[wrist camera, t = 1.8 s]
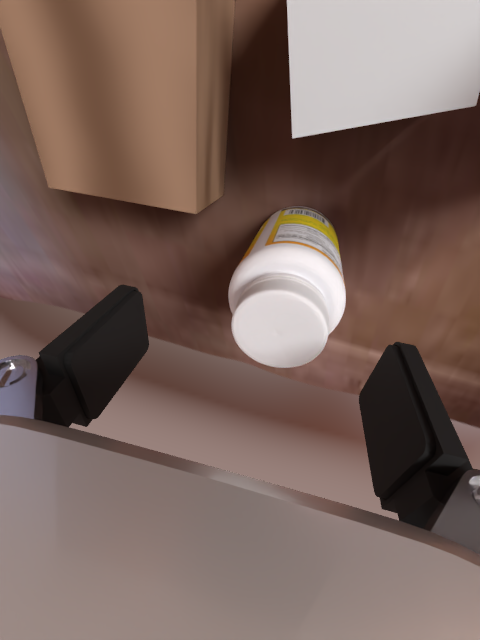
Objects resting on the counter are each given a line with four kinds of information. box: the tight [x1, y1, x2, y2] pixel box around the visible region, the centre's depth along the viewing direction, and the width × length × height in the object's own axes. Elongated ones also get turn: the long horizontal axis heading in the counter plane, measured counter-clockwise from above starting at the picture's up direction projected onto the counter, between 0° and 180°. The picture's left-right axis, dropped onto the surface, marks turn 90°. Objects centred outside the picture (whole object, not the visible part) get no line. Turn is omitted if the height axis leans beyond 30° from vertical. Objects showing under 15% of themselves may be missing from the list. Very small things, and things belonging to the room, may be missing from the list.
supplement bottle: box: [228, 206, 346, 368], centre depth 15 cm, size 6×6×10 cm
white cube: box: [287, 0, 480, 139], centre depth 10 cm, size 6×6×6 cm
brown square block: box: [0, 0, 235, 214], centre depth 14 cm, size 9×9×5 cm
